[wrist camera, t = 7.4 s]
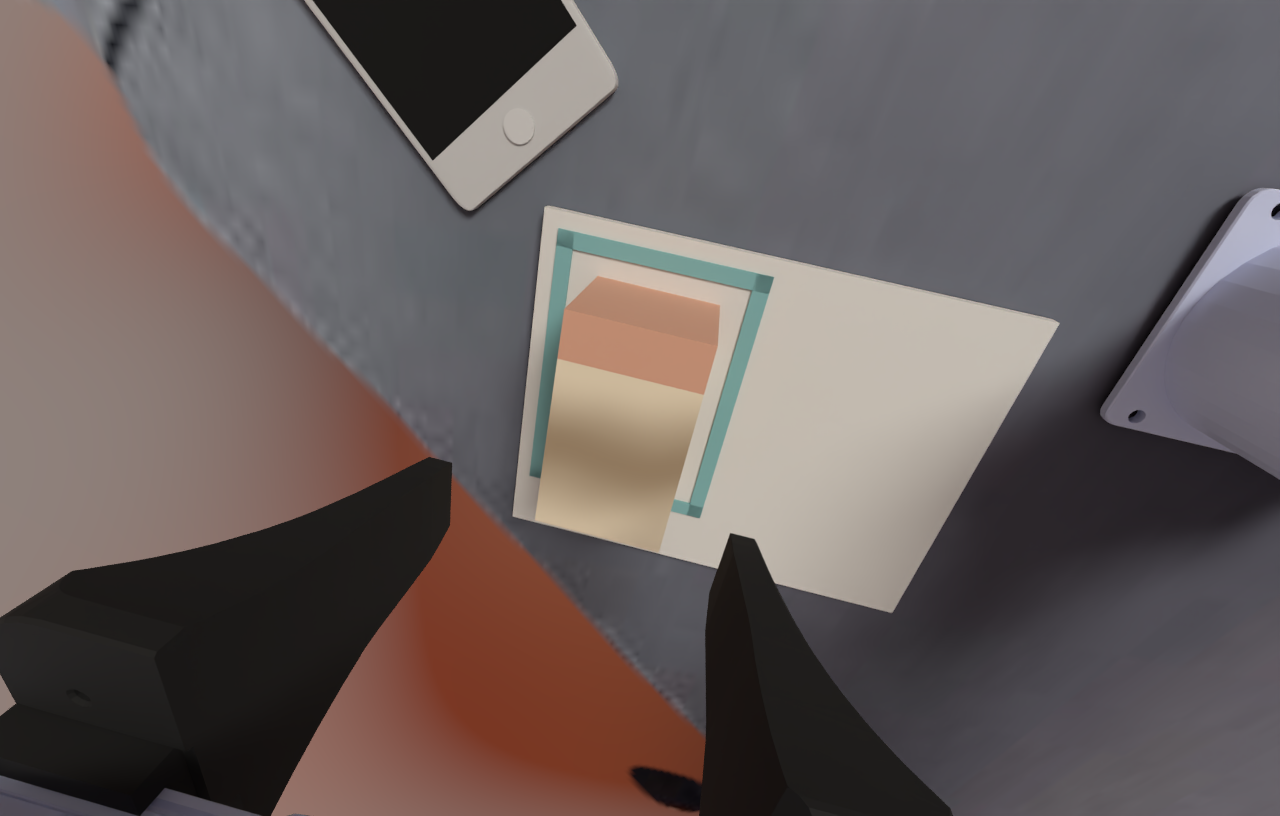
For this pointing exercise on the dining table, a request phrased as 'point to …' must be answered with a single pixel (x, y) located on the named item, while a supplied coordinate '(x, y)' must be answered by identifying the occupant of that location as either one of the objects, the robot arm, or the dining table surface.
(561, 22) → the smartphone
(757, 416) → the mat
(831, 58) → the dining table surface
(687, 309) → the block
